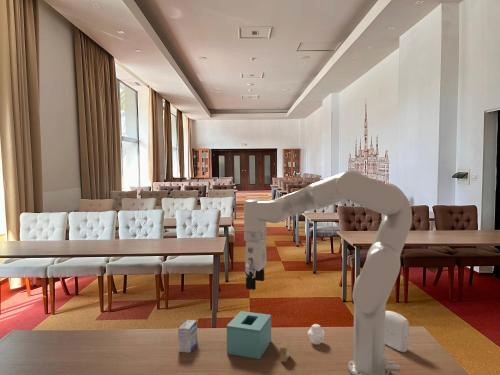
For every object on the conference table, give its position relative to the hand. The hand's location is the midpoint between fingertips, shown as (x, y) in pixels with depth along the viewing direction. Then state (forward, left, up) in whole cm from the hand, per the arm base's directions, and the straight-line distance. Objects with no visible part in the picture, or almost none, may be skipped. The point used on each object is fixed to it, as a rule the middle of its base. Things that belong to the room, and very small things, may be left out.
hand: (255, 284), depth 137 cm
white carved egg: (-19, -14, -24) cm, 34 cm away
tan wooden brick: (-11, +1, -24) cm, 27 cm away
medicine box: (+24, +4, -25) cm, 35 cm away
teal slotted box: (+3, -3, -24) cm, 25 cm away
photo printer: (-46, -20, -24) cm, 56 cm away
